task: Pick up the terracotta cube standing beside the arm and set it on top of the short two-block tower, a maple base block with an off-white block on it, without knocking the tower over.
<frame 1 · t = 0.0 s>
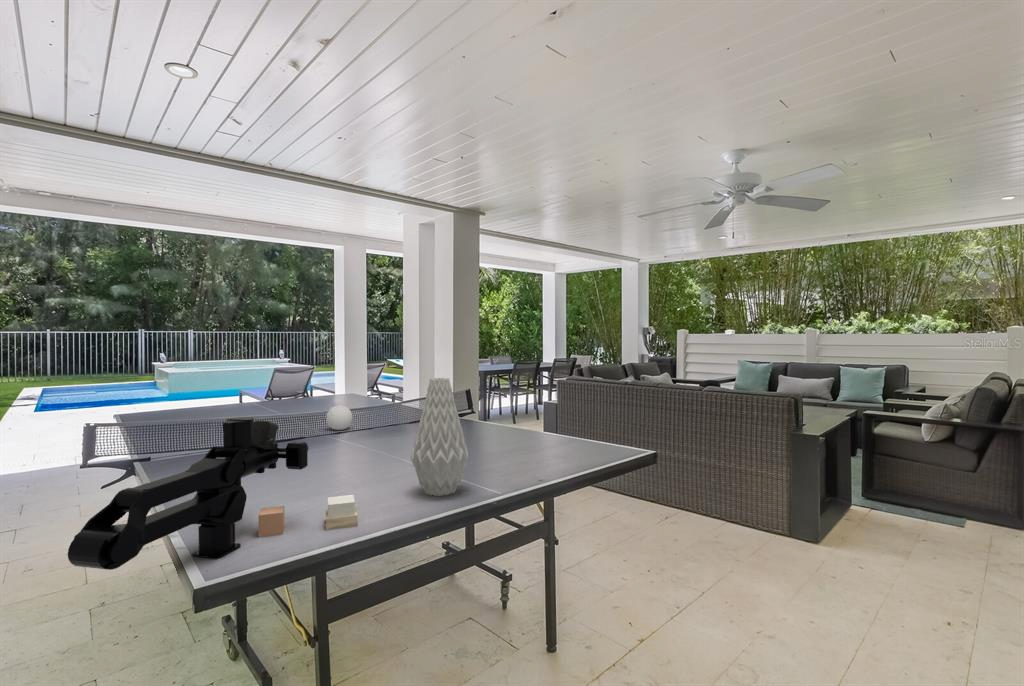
hand: (291, 447, 131), 17 cm above the table, tool horizontal, fingers open, 9 cm apart
tower base block: (341, 524, 123), on the table
terracotta cube: (271, 531, 117), on the table
decorative ball: (339, 430, 248), on the table
vase: (439, 492, 147), on the table
tower top block: (341, 512, 123), point 3 cm above the table
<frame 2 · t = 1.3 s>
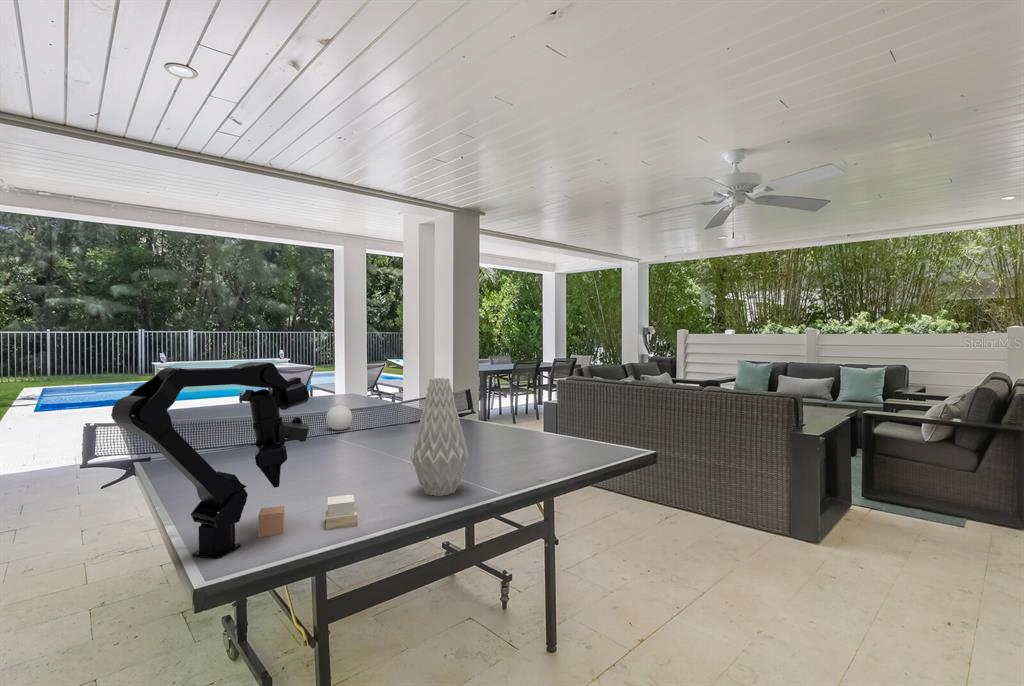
hand: (276, 480, 119), 11 cm above the table, tool pointing down, fingers open, 9 cm apart
nothing on the table moved.
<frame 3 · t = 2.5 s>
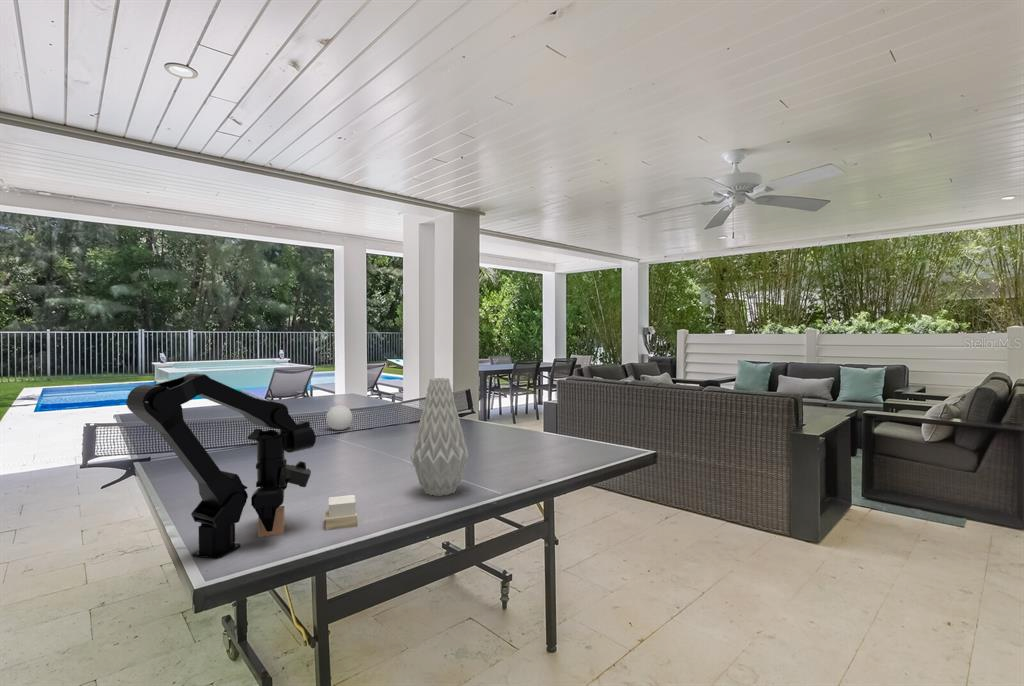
hand: (271, 524, 117), 2 cm above the table, tool pointing down, fingers open, 9 cm apart
tower base block: (341, 524, 123), on the table, touching tower top block
tower top block: (342, 512, 123), point 2 cm above the table, touching tower base block
everything else where it was.
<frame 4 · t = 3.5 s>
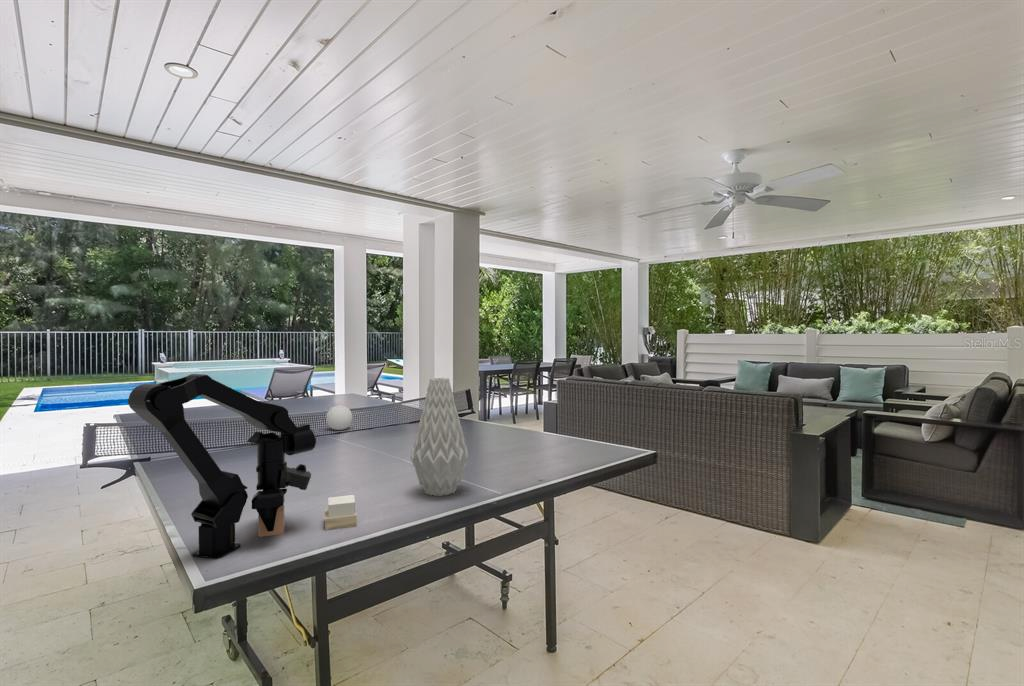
hand: (271, 527, 117), 1 cm above the table, tool pointing down, fingers closed on terracotta cube, 5 cm apart
terracotta cube: (271, 531, 117), on the table, touching gripper
everything else where it was.
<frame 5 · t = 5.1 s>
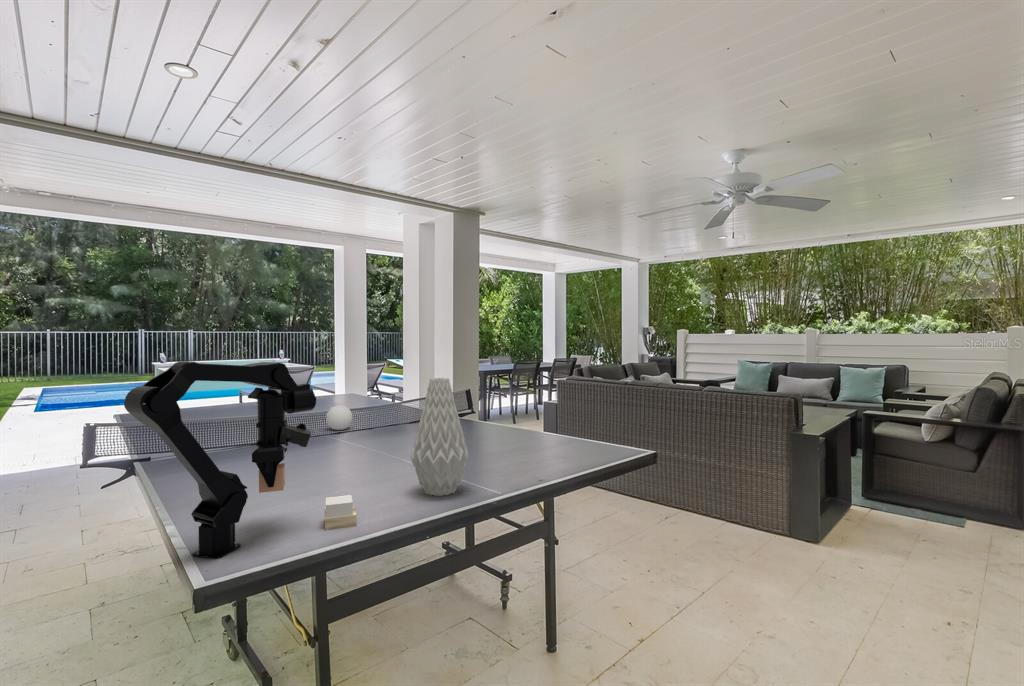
hand: (272, 483, 117), 11 cm above the table, tool pointing down, fingers closed on terracotta cube, 5 cm apart
terracotta cube: (272, 488, 117), point 10 cm above the table, touching gripper
everything else where it was.
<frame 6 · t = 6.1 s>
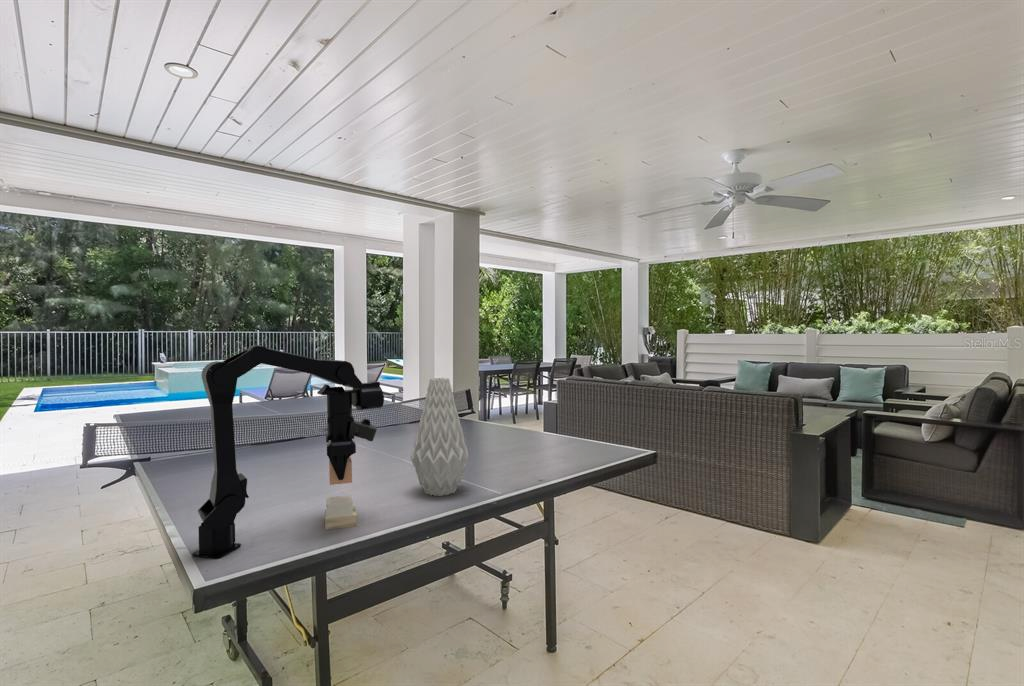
hand: (340, 476, 122), 11 cm above the table, tool pointing down, fingers closed on terracotta cube, 5 cm apart
tower base block: (340, 524, 123), on the table
terracotta cube: (340, 480, 123), point 10 cm above the table, touching gripper
tower top block: (339, 512, 123), point 3 cm above the table
everything else where it was.
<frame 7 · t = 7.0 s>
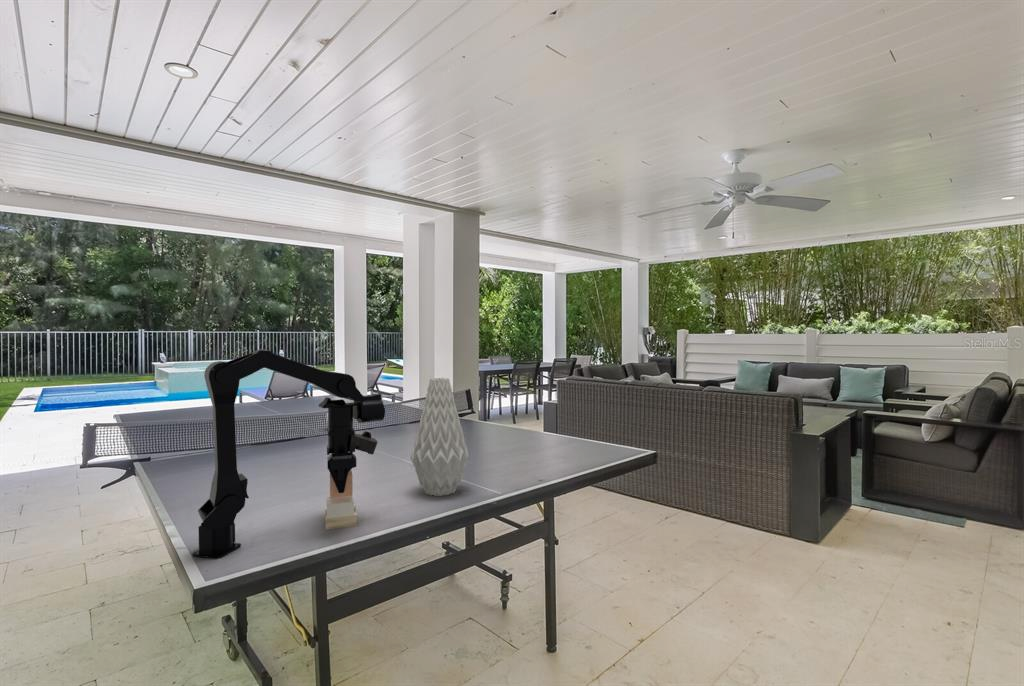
hand: (341, 489, 122), 8 cm above the table, tool pointing down, fingers closed on terracotta cube, 5 cm apart
tower base block: (341, 524, 123), on the table, touching tower top block
terracotta cube: (341, 493, 123), point 7 cm above the table, touching gripper
tower top block: (340, 512, 123), point 3 cm above the table, touching tower base block
everything else where it was.
when the fingers open (8 cm above the table, at t = 7.5 s): terracotta cube drops 1 cm, resting on tower top block.
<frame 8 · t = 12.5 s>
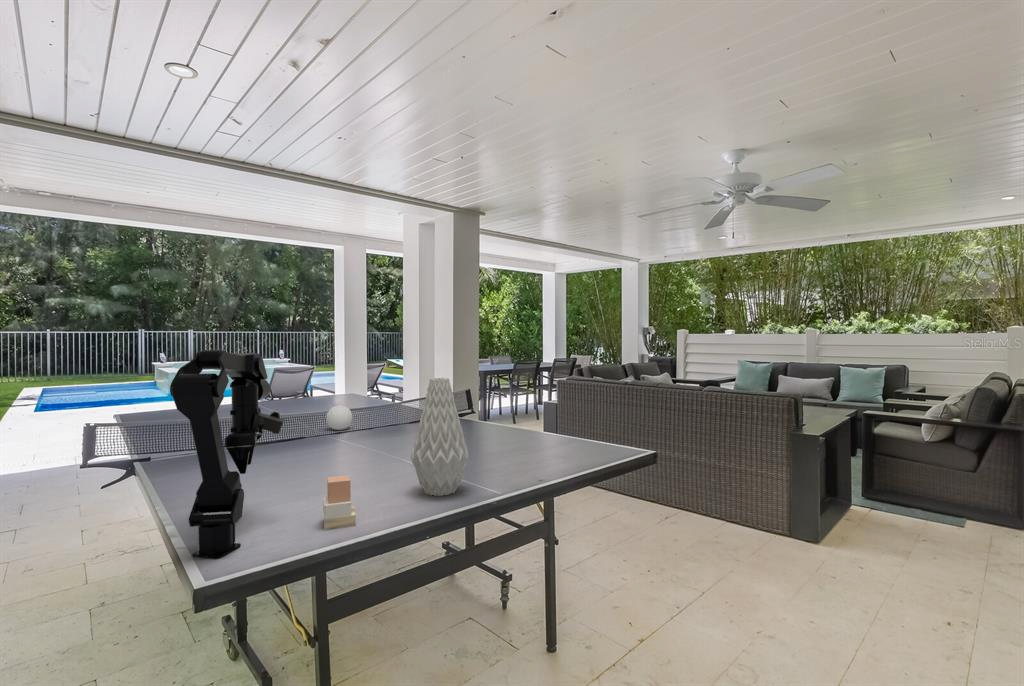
hand: (245, 468, 123), 13 cm above the table, tool pointing down, fingers open, 9 cm apart
terracotta cube: (338, 499, 123), point 6 cm above the table, touching tower top block
tower top block: (337, 512, 122), point 3 cm above the table, touching terracotta cube, tower base block
everything else where it was.
at the end: terracotta cube 0.8 cm off-centre on the tower top block, point 3.0 cm above the tower top block's base; tower top block 0.7 cm off-centre on the tower base block, point 3.0 cm above the tower base block's base; terracotta cube tilted 0° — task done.
